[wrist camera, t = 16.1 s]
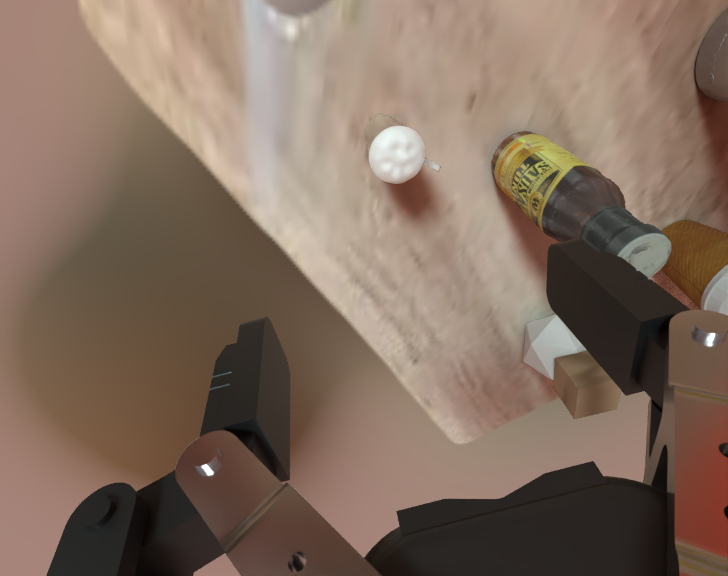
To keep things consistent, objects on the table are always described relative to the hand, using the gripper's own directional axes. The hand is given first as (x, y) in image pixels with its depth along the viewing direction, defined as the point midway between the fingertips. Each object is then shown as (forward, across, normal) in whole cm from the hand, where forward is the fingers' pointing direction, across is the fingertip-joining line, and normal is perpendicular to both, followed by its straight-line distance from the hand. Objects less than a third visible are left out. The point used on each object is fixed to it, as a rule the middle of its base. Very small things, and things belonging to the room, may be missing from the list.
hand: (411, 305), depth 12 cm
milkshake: (+32, -4, +4) cm, 33 cm away
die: (+32, -21, +34) cm, 52 cm away
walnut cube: (+24, -21, +34) cm, 47 cm away
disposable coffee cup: (+32, -37, +26) cm, 55 cm away
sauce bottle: (+32, -17, +10) cm, 38 cm away
